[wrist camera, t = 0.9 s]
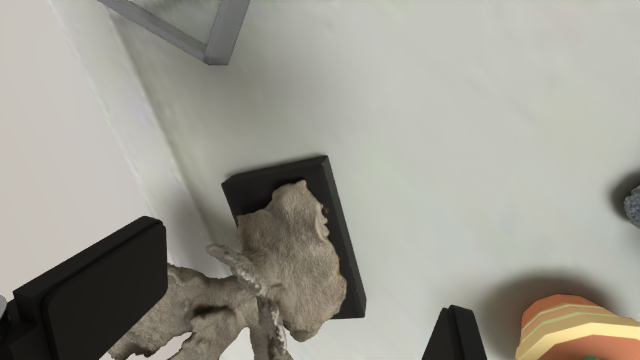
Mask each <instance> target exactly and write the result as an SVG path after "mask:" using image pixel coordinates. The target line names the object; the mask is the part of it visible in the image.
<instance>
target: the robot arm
mask: <svg viewBox="0 0 640 360" xmlns="http://www.w3.org/2000/svg"><path fill="white" fill-rule="evenodd" d="M167 289H168V269H167V242H166V227H165V226H163V222H162V221H161V220H158V219H155V218H152V217H148V216H142V217H140V218H138V219H137V220H135V221H133V222H131V223H130V224H128V225H126V226H124V227H123V228H121V229H119V230H118V231H116V232H114V233H112V234H111V235H109V236H107V237H106V238H104V239H102V240H100V241H99V242H97V243H95V244H93V245H92V246H90V247H88V248H87V249H85V250H83V251H81V252H80V253H78V254H76V255H74V256H73V257H71V258H69V259H67V260H66V261H64V262H62V263H61V264H59V265H57V266H55V267H54V268H52V269H50V270H48V271H47V272H45V273H43V274H42V275H40V276H38V277H36V278H35V279H33V280H31V281H29V282H28V283H26V284H24V285H23V286H21V287H19V288H17V289H16V290H14V291H13V295H14V299H13V300H11V301H9V302H8V303H7V301H6V299H5V297H3V296H1V295H0V360H99V359H100V358H101V357H102V356H103V355H104V354H105V353H106V352H107V351H108V350H109V349H110V348H111V347H112V346H113V345H114V344H115V343H116V342H117V341H118V340H120V339H121V338H122V337H123V336H124V335H125V334H126V333H127V332H128V331H129V330H130V329H131V328H132V327H133V326H134V325H135V324H136V323H137V322H138V321H139V320H140V319H141V318H142V317H143V316H144V315H145V314H146V313H147V312H148V311H149V310H150V309H151V308H153V307H154V306H155V305H156V304H157V303H158V302H159V301H160V300H161V299H162V298H163V297H164V295H165V294H166V292H167ZM422 360H487V357H486V354H485V350H484V347H483V343H482V340H481V337H480V333H479V330H478V326H477V323H476V320H475V316H474V313H473V311H472V310H469V309H465V308H462V307H459V306H455V305H450V306H449V308H448V309H447V308H442V310H441V312H440V315H439V317H438V320H437V322H436V325H435V327H434V330H433V332H432V335H431V337H430V340H429V342H428V345H427V347H426V350H425V352H424V355H423V357H422Z"/></svg>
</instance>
